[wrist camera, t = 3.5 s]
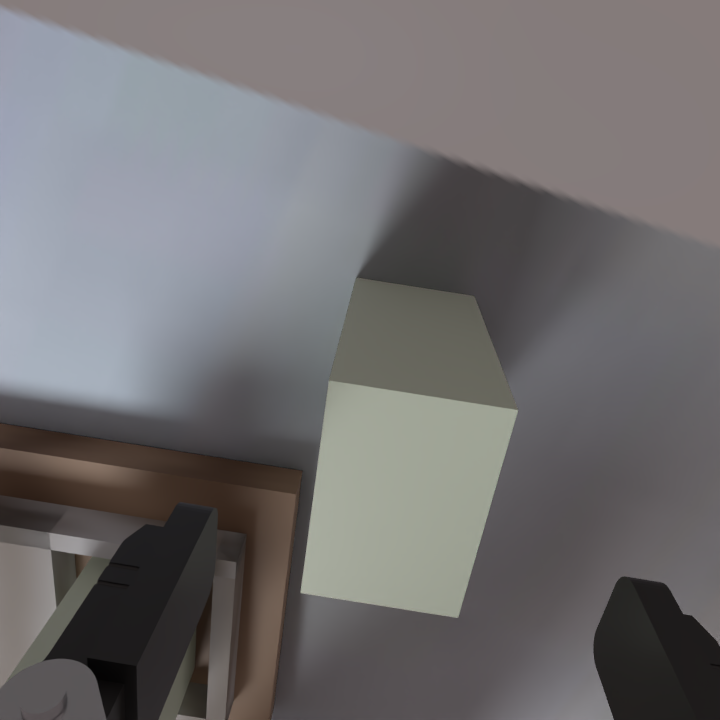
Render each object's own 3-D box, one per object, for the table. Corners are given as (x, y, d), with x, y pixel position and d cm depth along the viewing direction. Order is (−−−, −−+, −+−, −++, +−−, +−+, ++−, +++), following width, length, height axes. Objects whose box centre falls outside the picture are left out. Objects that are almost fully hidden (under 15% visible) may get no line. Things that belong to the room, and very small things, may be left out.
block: (104, 653, 25) (-17, 875, 18) (98, 546, 23) (-44, 754, 16) (194, 667, 25) (110, 895, 18) (198, 562, 23) (103, 777, 16)
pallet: (-171, 637, 28) (-232, 693, 26) (-254, 383, 23) (-344, 421, 20) (273, 707, 28) (259, 772, 26) (302, 470, 23) (288, 521, 20)
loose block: (334, 430, 22) (300, 593, 15) (356, 277, 19) (328, 380, 12) (439, 446, 22) (457, 618, 15) (474, 295, 19) (517, 410, 12)
